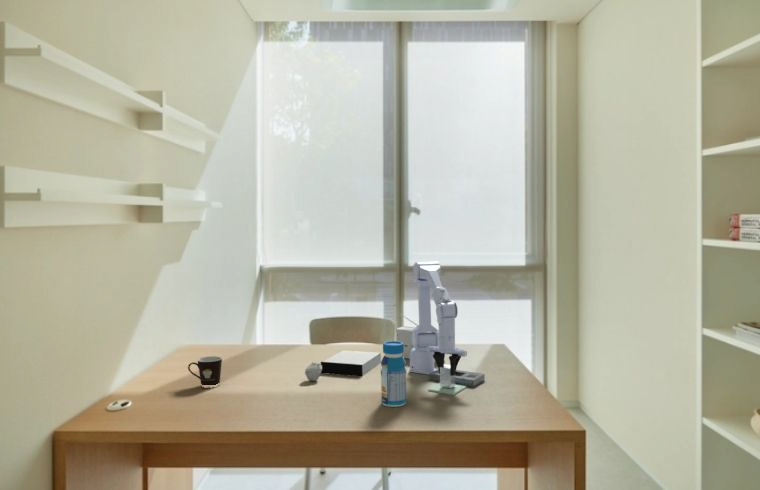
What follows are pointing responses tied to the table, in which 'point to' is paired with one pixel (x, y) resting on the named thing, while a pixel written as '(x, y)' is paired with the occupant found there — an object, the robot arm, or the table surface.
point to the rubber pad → (447, 389)
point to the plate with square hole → (461, 378)
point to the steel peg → (446, 377)
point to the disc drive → (351, 363)
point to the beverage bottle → (393, 375)
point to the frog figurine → (313, 371)
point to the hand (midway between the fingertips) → (447, 374)
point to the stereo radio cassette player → (407, 338)
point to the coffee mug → (208, 370)
